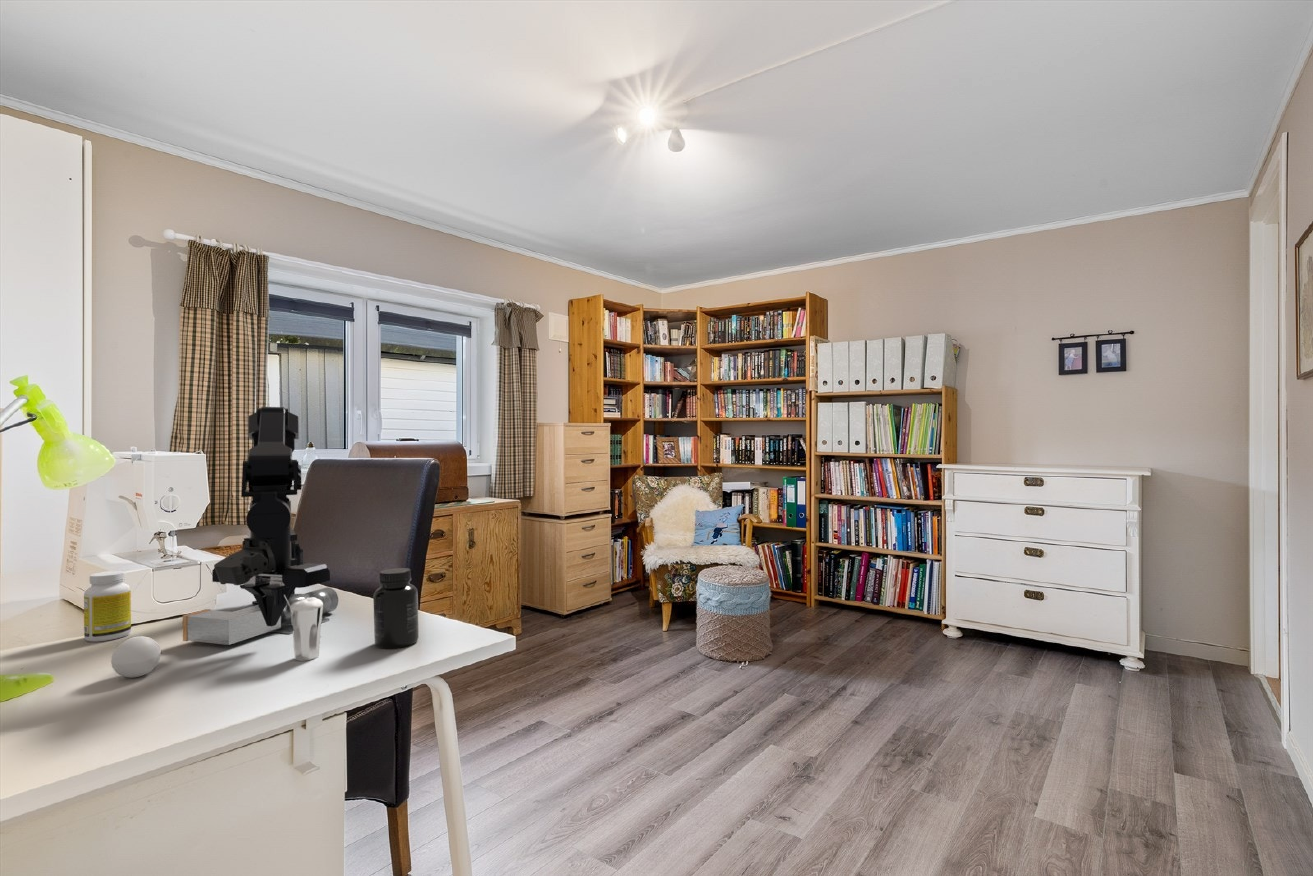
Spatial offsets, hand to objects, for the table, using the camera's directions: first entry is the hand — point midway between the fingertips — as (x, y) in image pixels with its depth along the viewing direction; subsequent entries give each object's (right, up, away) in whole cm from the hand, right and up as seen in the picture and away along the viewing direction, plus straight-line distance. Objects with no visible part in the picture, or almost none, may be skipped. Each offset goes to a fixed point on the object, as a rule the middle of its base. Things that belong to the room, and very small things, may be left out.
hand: (271, 625), depth 106 cm
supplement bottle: (+20, -4, +1) cm, 20 cm away
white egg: (-12, -4, -12) cm, 18 cm away
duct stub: (-3, -4, +15) cm, 16 cm away
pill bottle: (-32, -4, +6) cm, 33 cm away
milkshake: (+8, -4, -6) cm, 11 cm away
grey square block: (-9, -3, +5) cm, 11 cm away
